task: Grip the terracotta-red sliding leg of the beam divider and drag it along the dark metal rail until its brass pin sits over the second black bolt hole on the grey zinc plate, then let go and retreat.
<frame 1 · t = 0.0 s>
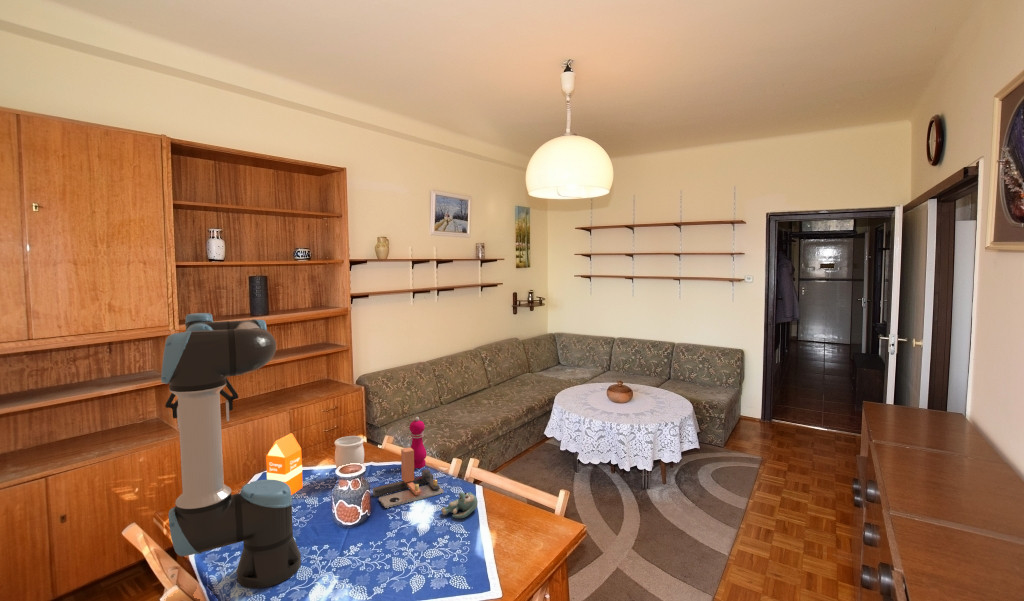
hand: (204, 423, 160), 28 cm above the table, tool pointing down, fingers open, 13 cm apart
jar: (350, 479, 183), on the table
sliding leg: (411, 470, 172), point 8 cm above the table, slide at 2.0 cm
stuffed animal: (459, 513, 159), on the table
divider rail: (404, 488, 175), on the table
orange juice: (285, 492, 172), on the table
pepper mill: (417, 466, 195), on the table
bolt plate: (411, 496, 169), on the table
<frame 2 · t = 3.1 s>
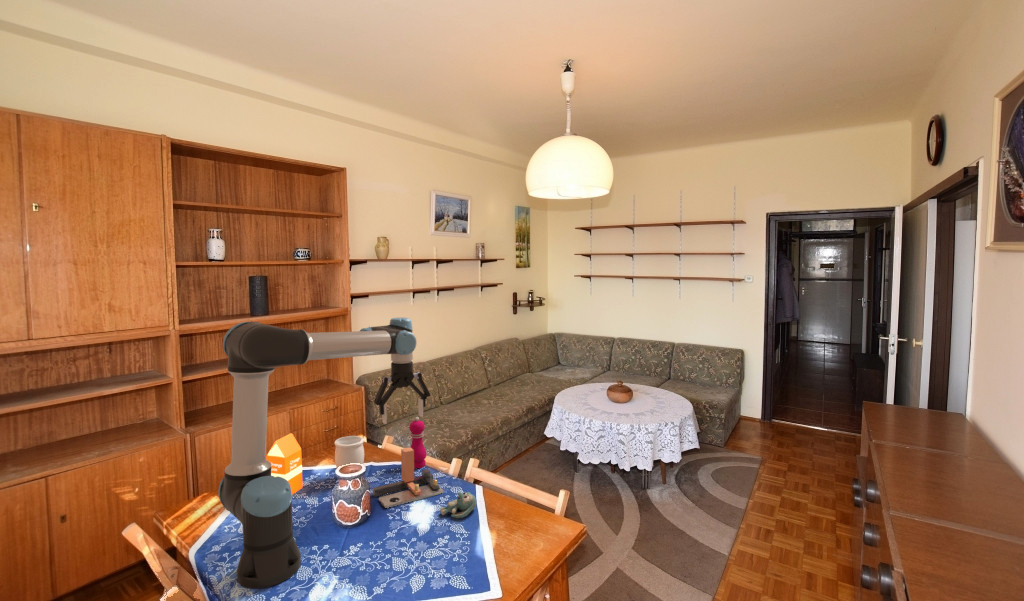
hand: (403, 419, 174), 25 cm above the table, tool pointing down, fingers open, 13 cm apart
nothing on the table moved.
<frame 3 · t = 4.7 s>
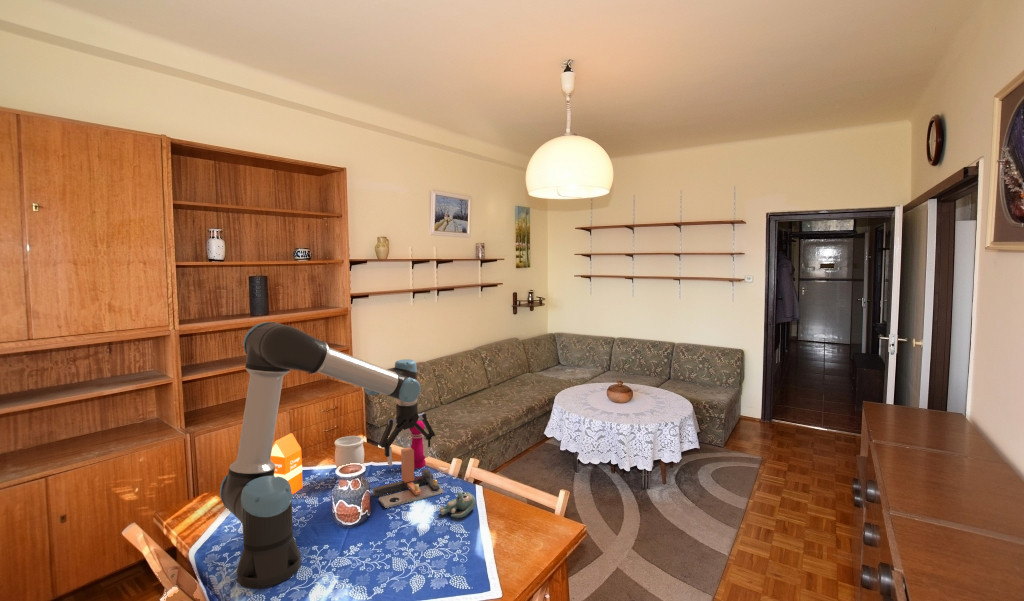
hand: (408, 460, 175), 10 cm above the table, tool pointing down, fingers open, 13 cm apart
nothing on the table moved.
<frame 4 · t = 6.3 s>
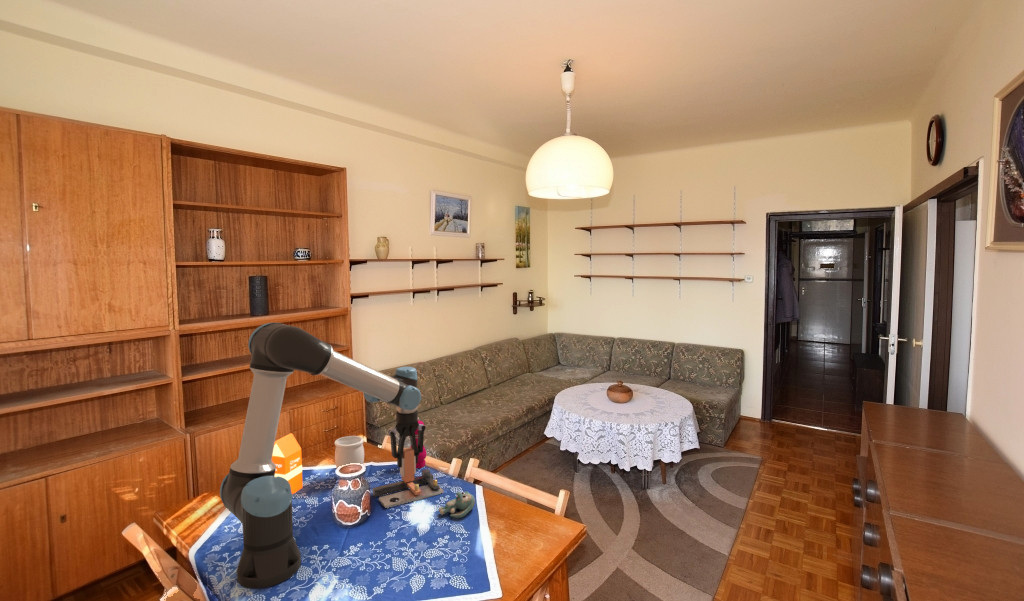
hand: (407, 473, 176), 5 cm above the table, tool pointing down, fingers closed on sliding leg, 3 cm apart
sliding leg: (411, 470, 172), point 8 cm above the table, slide at 2.0 cm, touching gripper
everything else where it was.
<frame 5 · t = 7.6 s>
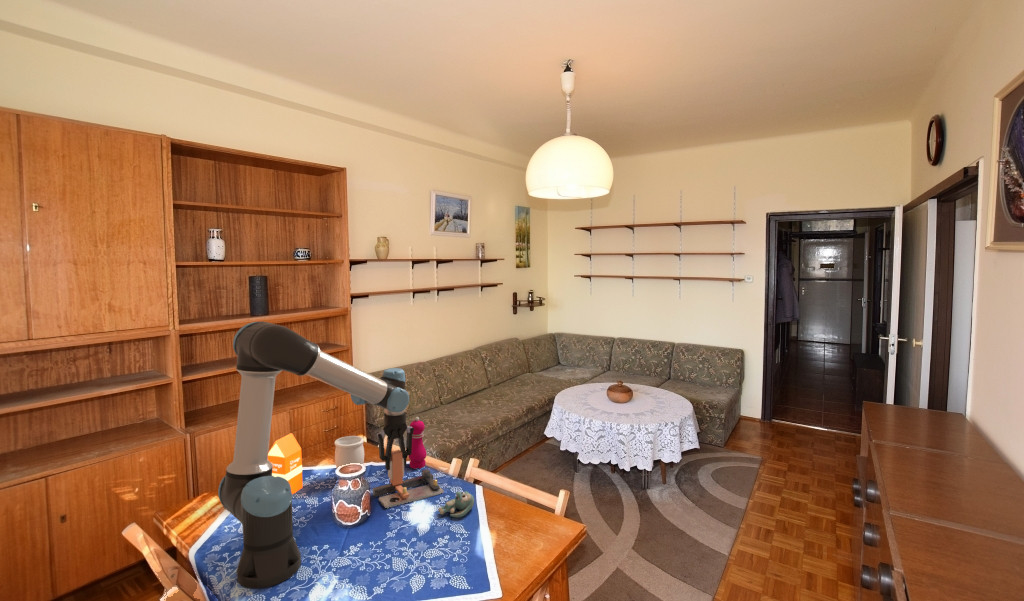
hand: (396, 476, 173), 5 cm above the table, tool pointing down, fingers closed on sliding leg, 3 cm apart
sliding leg: (400, 473, 170), point 8 cm above the table, slide at 6.4 cm, touching gripper
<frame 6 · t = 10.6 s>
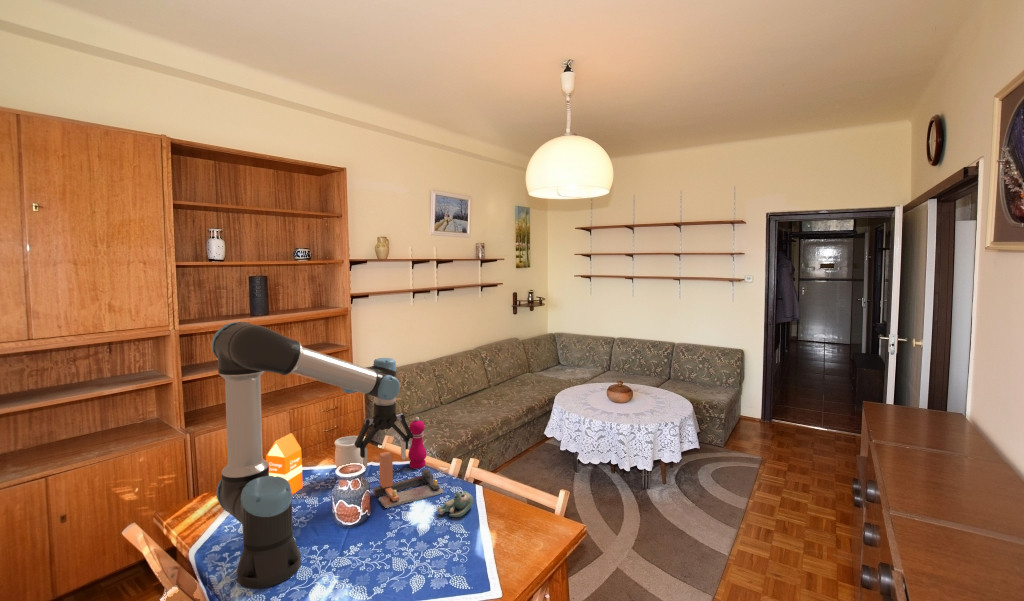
hand: (384, 462, 170), 11 cm above the table, tool pointing down, fingers open, 13 cm apart
sliding leg: (389, 476, 168), point 8 cm above the table, slide at 10.0 cm
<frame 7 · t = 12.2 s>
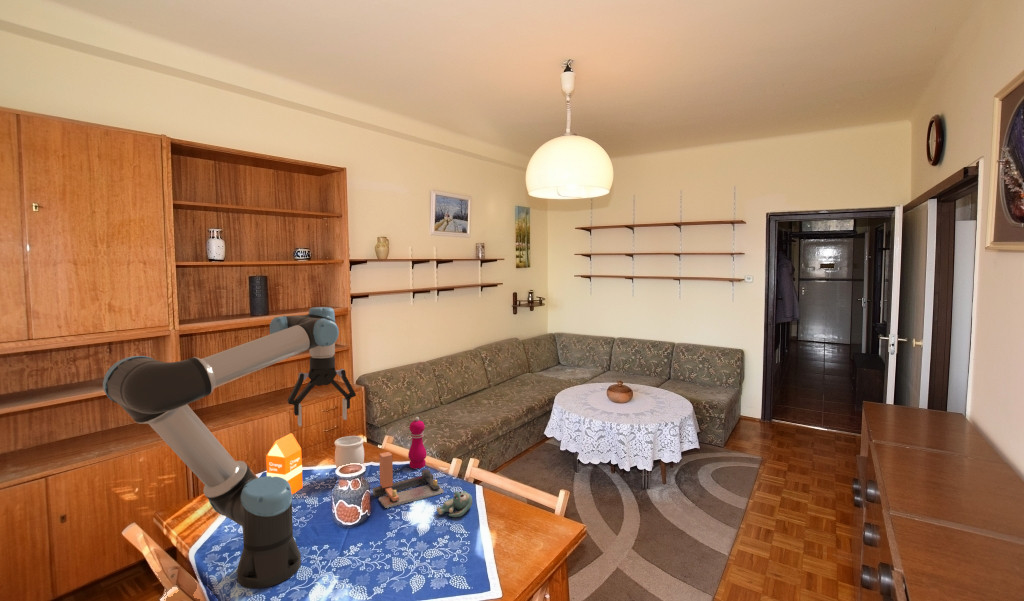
hand: (322, 422, 155), 30 cm above the table, tool pointing down, fingers open, 13 cm apart
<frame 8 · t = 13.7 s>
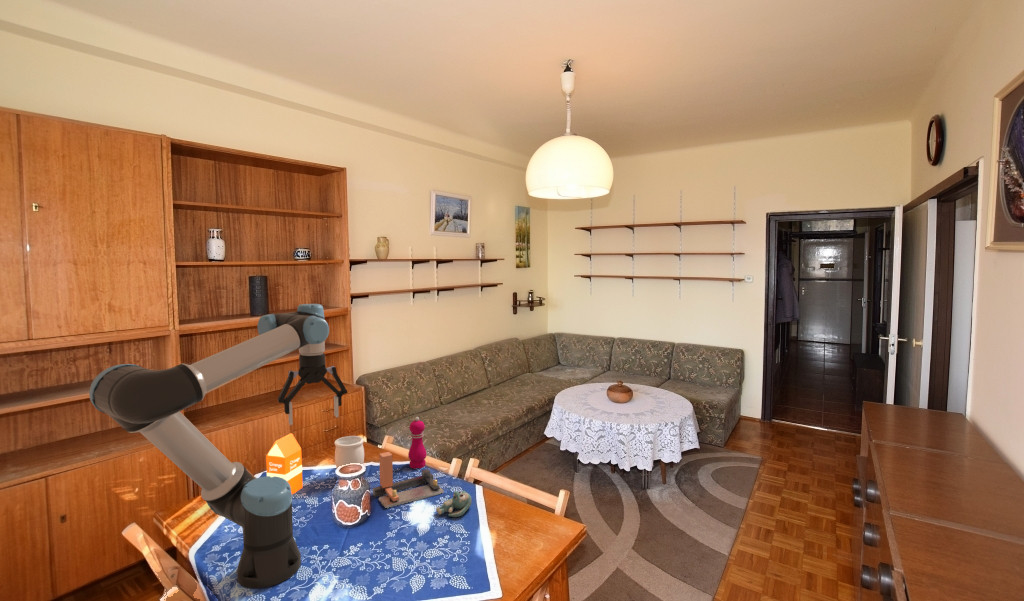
hand: (314, 420, 153), 32 cm above the table, tool pointing down, fingers open, 13 cm apart
at the end: sliding leg slide at 10.0 cm; the gripper is holding nothing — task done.
